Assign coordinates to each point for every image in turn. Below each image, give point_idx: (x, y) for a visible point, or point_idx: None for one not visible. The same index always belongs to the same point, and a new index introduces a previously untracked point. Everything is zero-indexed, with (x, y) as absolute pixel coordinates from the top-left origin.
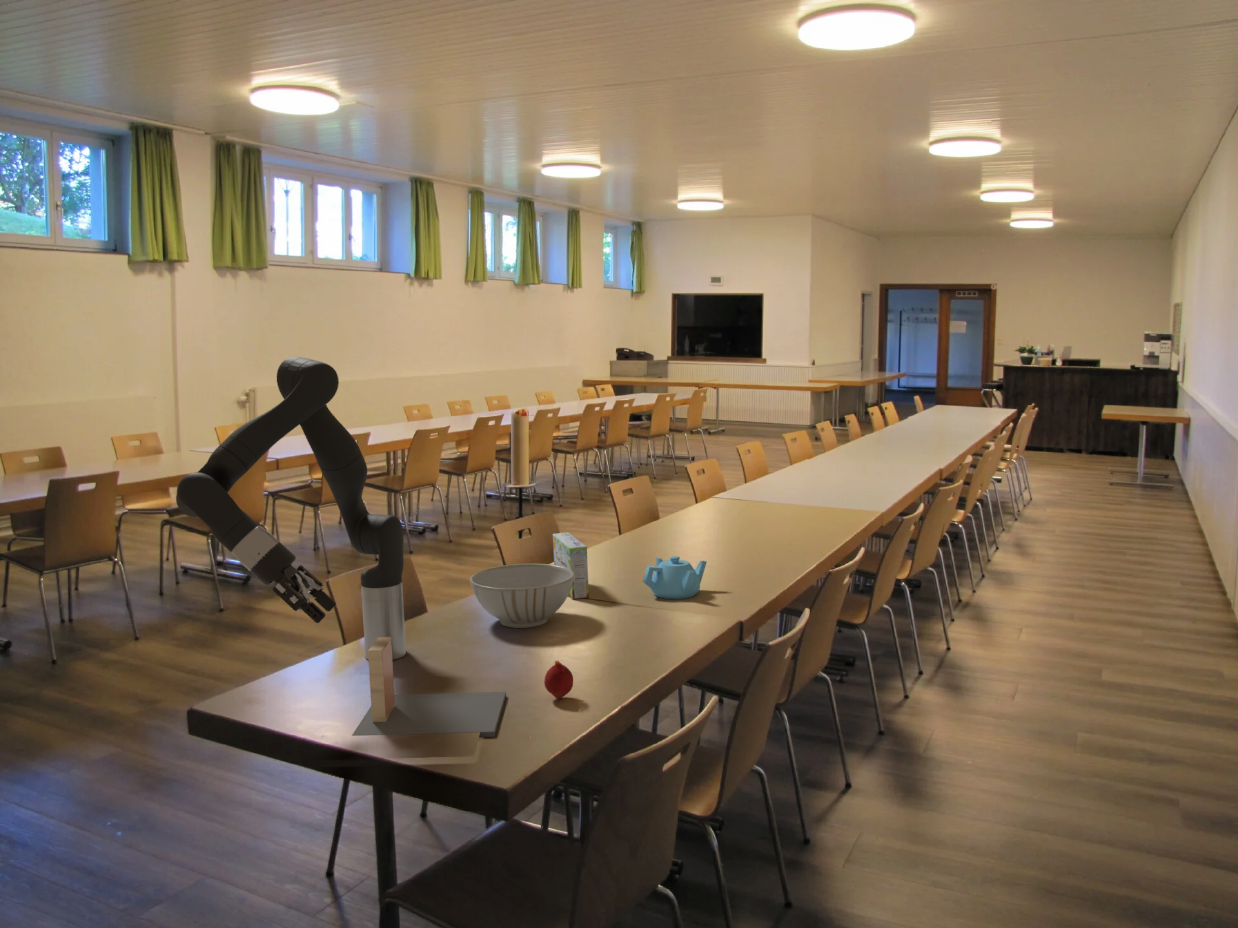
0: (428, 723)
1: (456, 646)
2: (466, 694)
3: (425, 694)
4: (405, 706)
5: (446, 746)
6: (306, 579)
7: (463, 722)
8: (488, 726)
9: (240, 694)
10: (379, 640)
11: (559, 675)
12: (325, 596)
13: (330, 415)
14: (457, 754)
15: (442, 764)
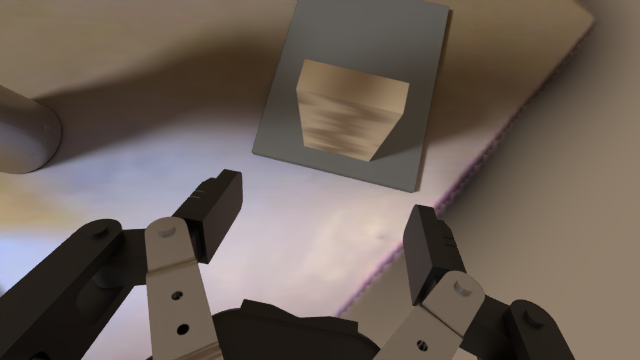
0: None
1: (37, 21)
2: (297, 25)
3: (276, 81)
4: None
5: (463, 70)
6: (214, 333)
7: (407, 39)
8: (430, 11)
9: None
10: (325, 86)
11: None
12: (218, 207)
13: None
14: (492, 59)
15: (519, 79)
